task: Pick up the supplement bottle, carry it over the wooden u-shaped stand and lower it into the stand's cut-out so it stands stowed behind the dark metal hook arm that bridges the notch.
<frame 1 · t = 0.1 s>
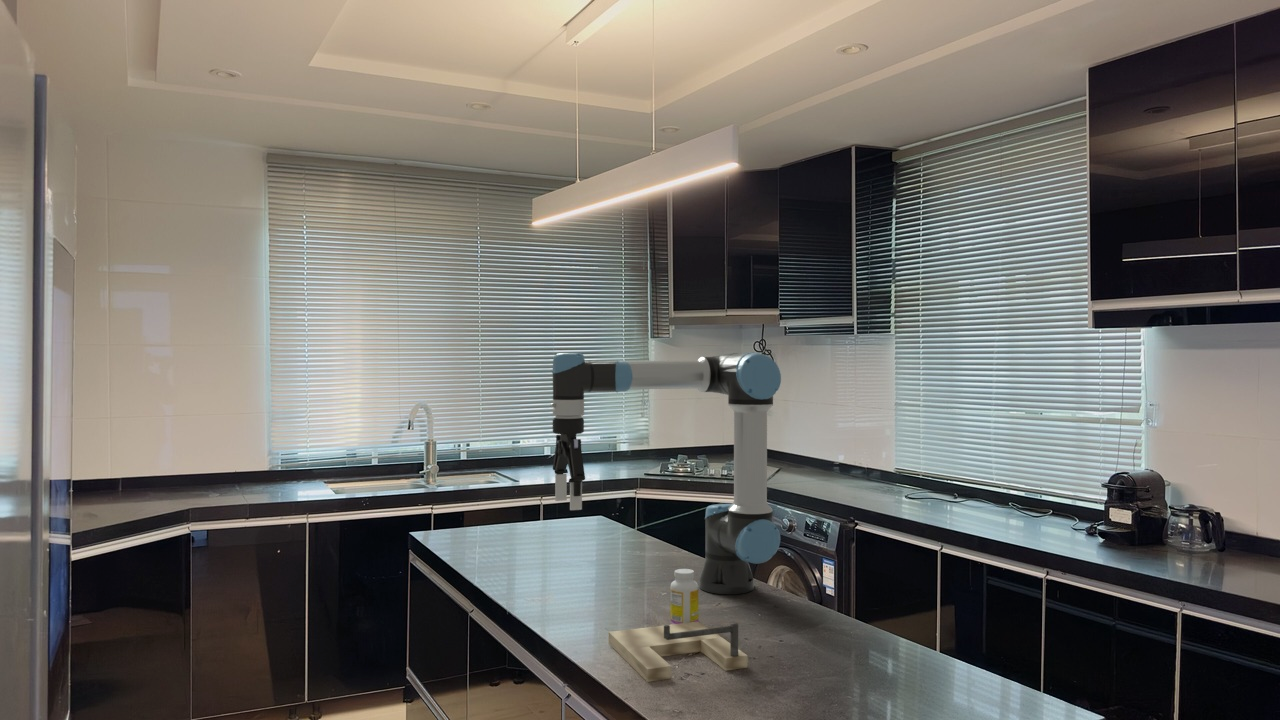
hand: (568, 505, 205), 28 cm above the counter, fingers open, 13 cm apart
wooden u-shaped stand: (675, 654, 182), on the counter
supplement bottle: (684, 625, 202), on the counter
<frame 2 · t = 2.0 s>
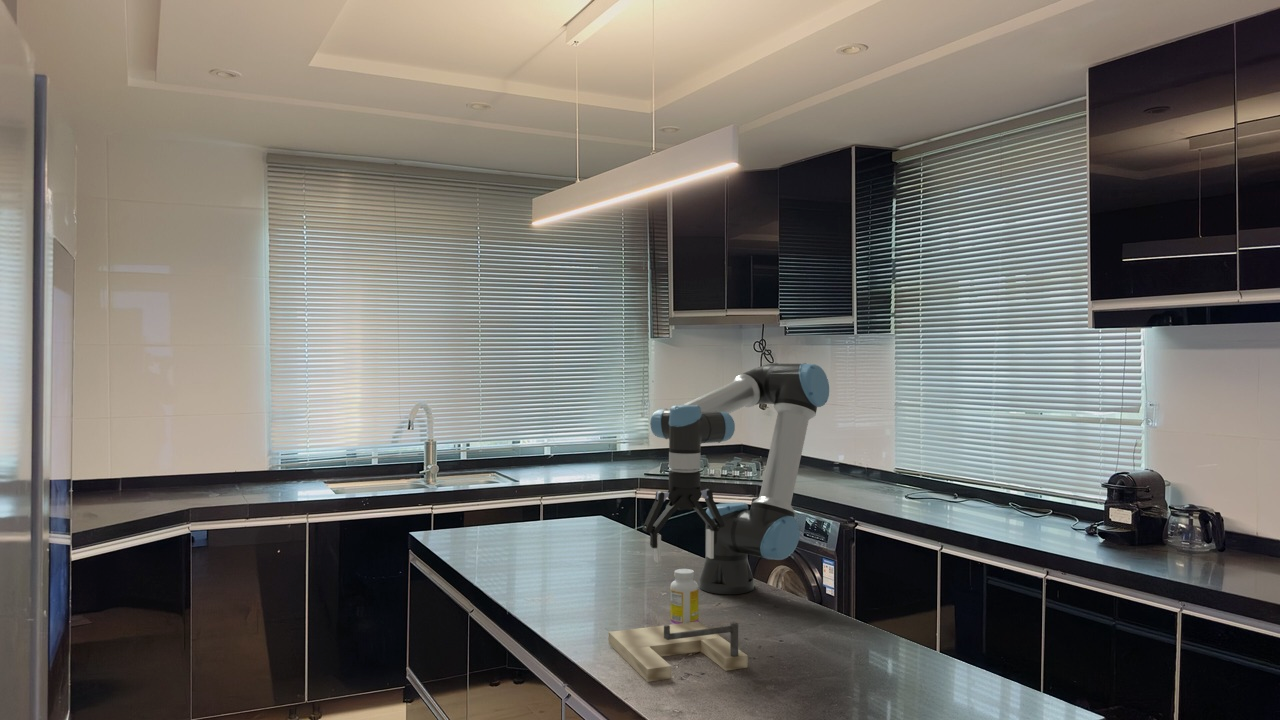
hand: (683, 559, 202), 16 cm above the counter, fingers open, 13 cm apart
nothing on the counter moved.
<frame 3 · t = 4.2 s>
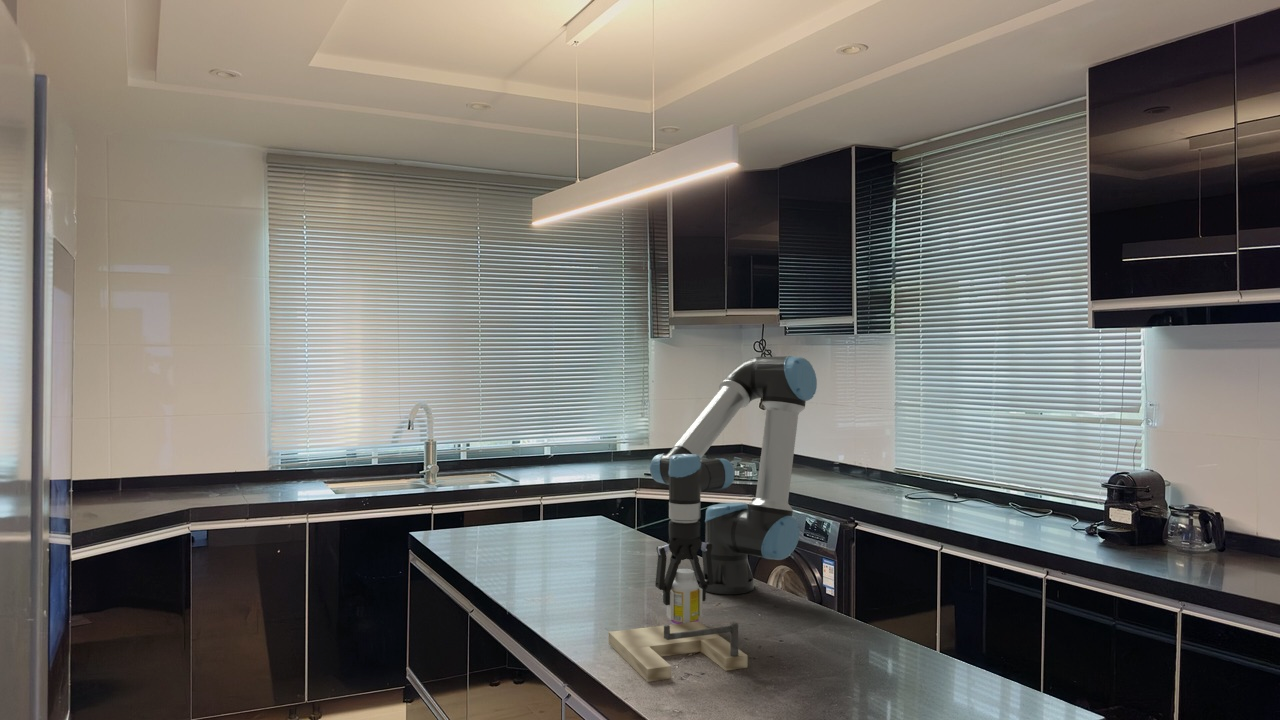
hand: (684, 616, 202), 2 cm above the counter, fingers closed on supplement bottle, 7 cm apart
supplement bottle: (684, 625, 202), on the counter, touching gripper
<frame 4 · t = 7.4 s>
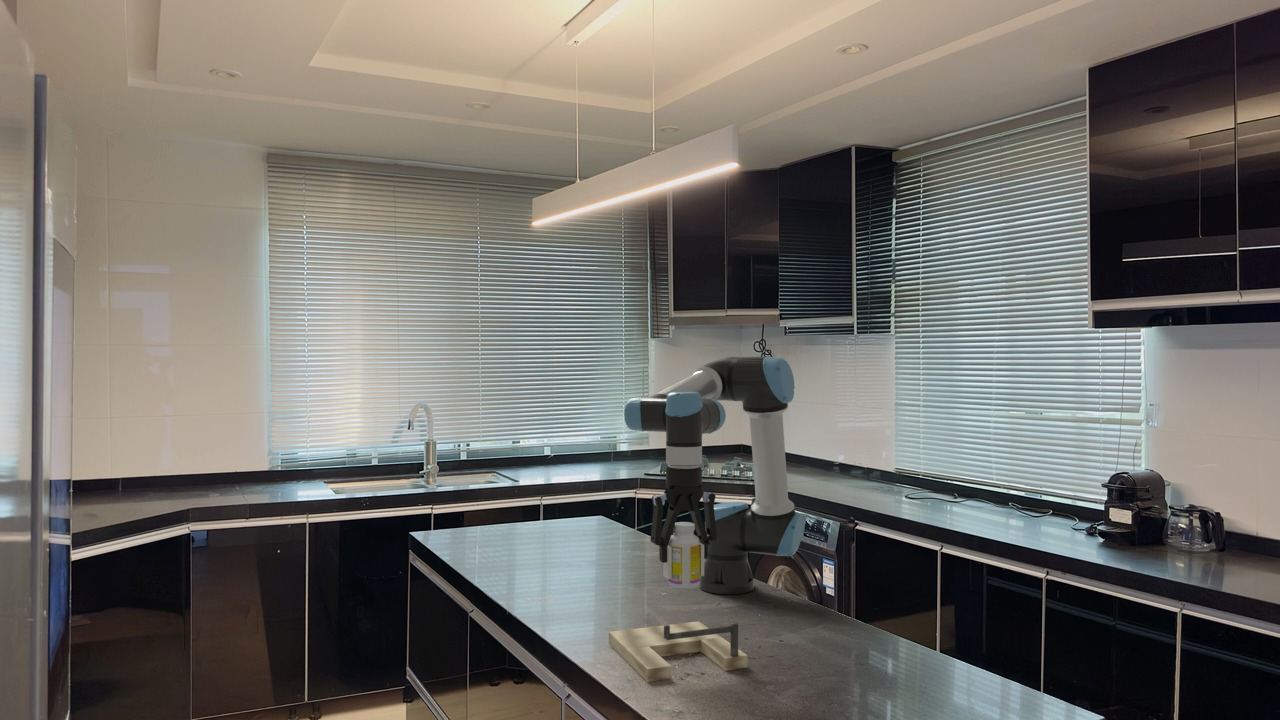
hand: (683, 575, 177), 18 cm above the counter, fingers closed on supplement bottle, 7 cm apart
supplement bottle: (683, 586, 177), point 16 cm above the counter, touching gripper
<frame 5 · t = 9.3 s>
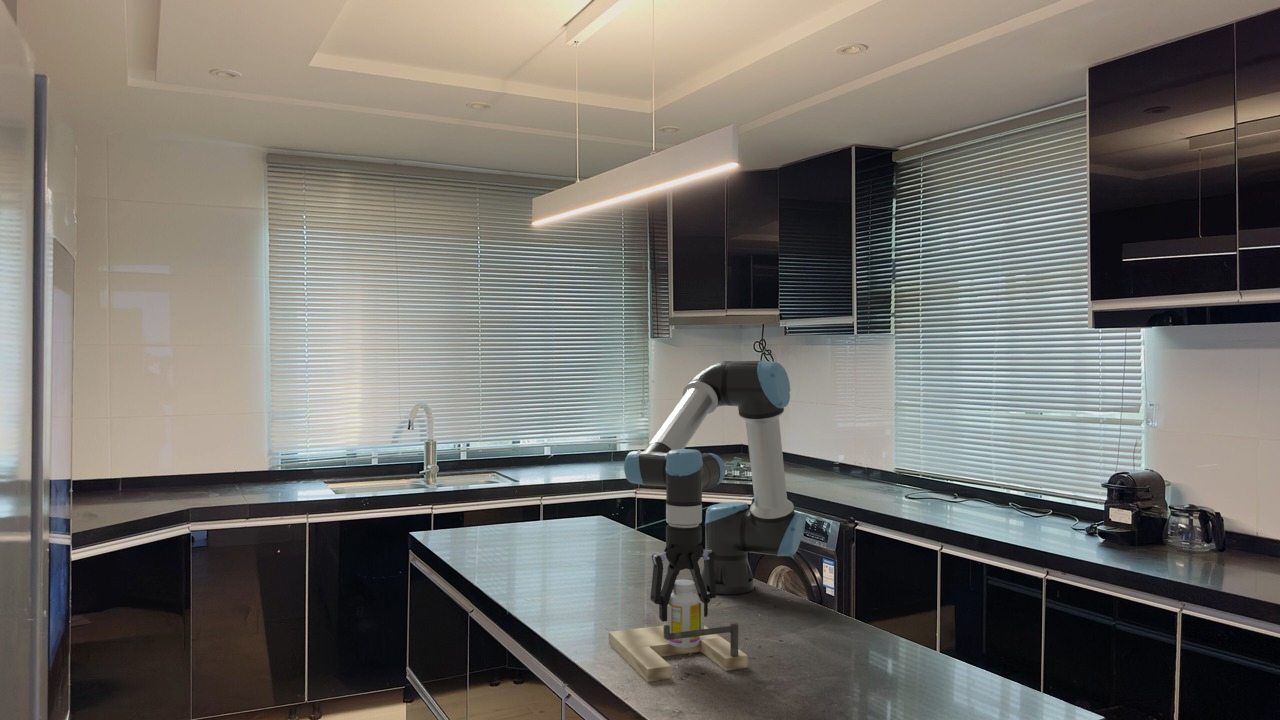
hand: (683, 634, 177), 6 cm above the counter, fingers closed on supplement bottle, 7 cm apart
supplement bottle: (683, 644, 178), point 4 cm above the counter, touching gripper
when the fingers open (4 cm above the counter, at t = 10.6 s): supplement bottle drops 2 cm, resting in wooden u-shaped stand.
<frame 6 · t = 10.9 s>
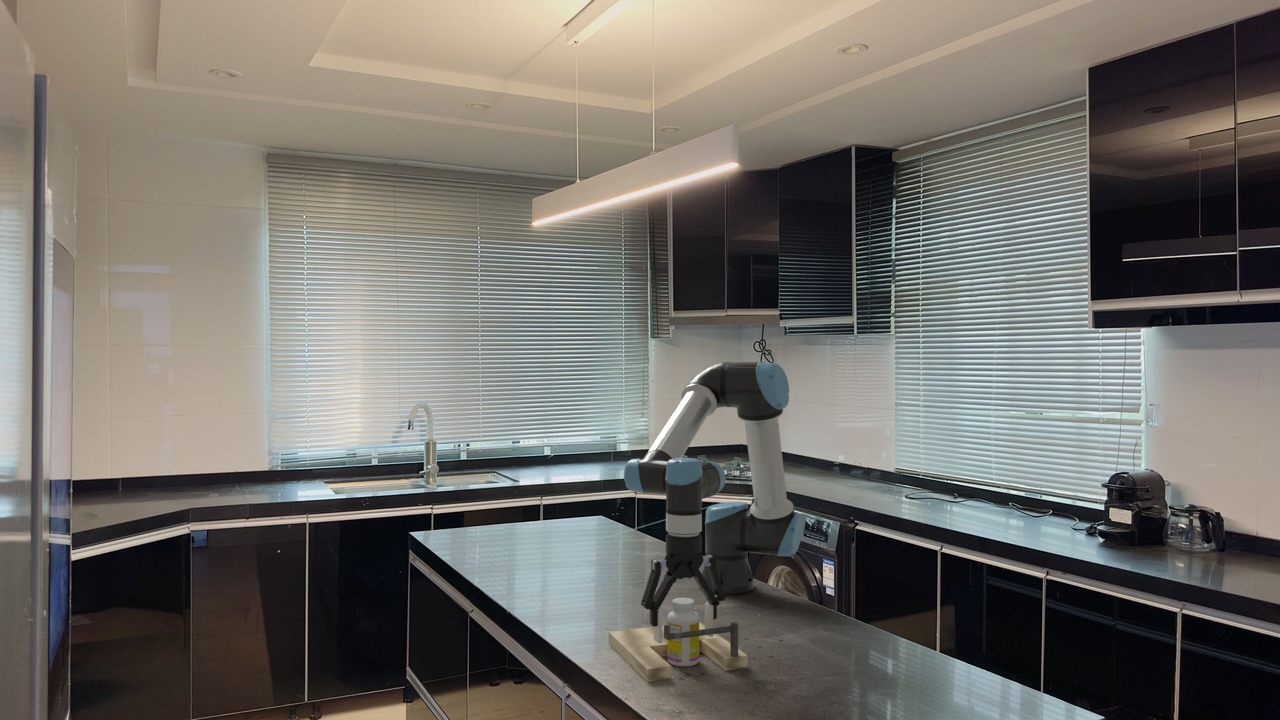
hand: (683, 638, 178), 5 cm above the counter, fingers open, 11 cm apart
supplement bottle: (683, 662, 178), resting in wooden u-shaped stand
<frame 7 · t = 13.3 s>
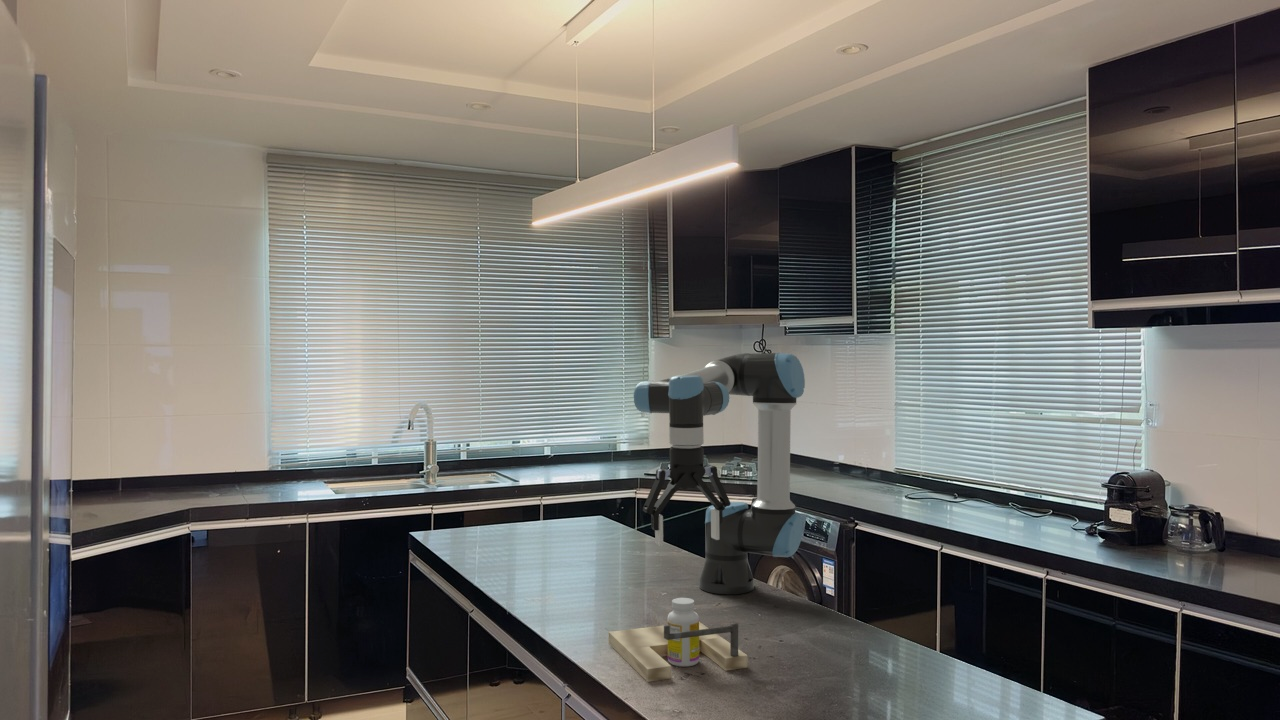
hand: (687, 541, 188), 23 cm above the counter, fingers open, 13 cm apart
nothing on the counter moved.
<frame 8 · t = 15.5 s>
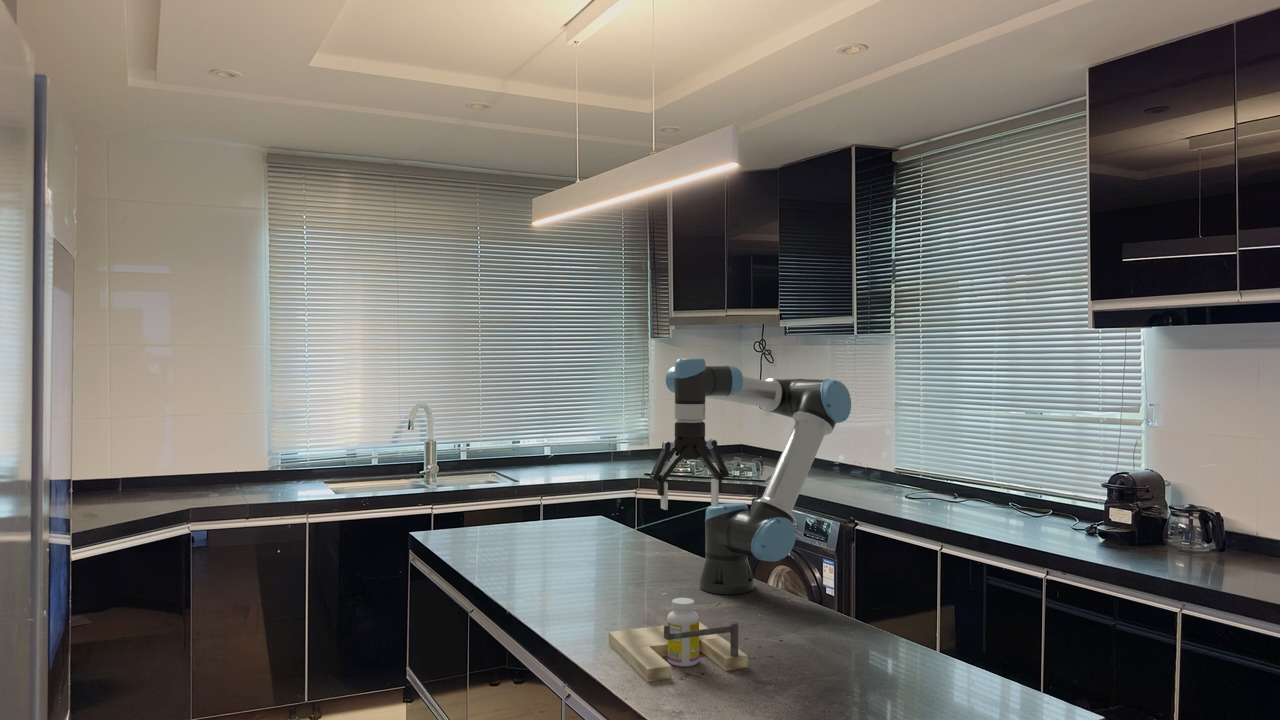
hand: (689, 507, 209), 27 cm above the counter, fingers open, 13 cm apart
nothing on the counter moved.
at the end: supplement bottle inside the target area on the wooden u-shaped stand (0.4 cm from its centre), point 0.0 cm above the wooden u-shaped stand's base; supplement bottle tilted 0°; the gripper is holding nothing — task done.
